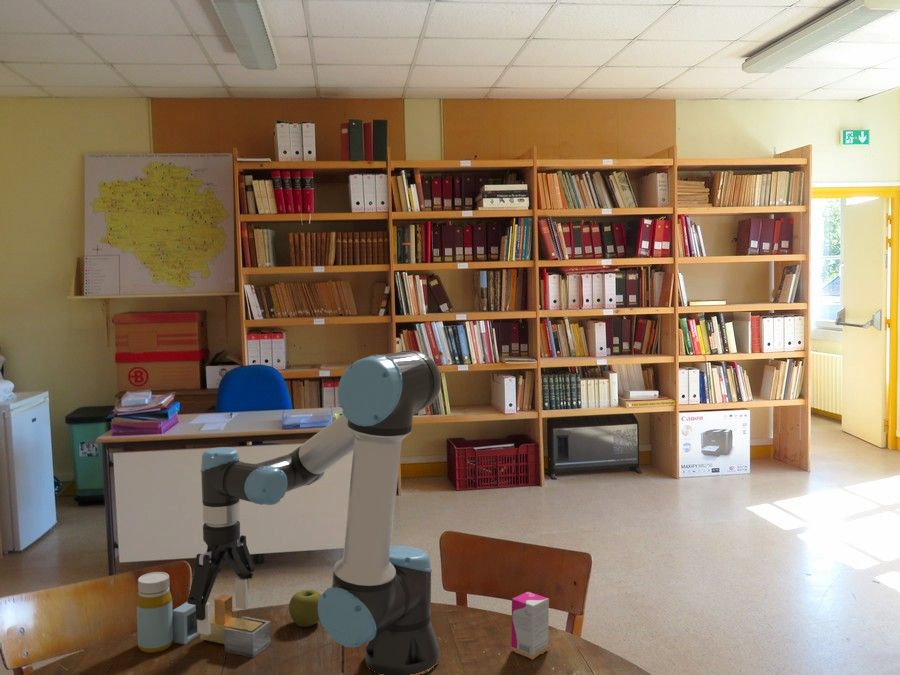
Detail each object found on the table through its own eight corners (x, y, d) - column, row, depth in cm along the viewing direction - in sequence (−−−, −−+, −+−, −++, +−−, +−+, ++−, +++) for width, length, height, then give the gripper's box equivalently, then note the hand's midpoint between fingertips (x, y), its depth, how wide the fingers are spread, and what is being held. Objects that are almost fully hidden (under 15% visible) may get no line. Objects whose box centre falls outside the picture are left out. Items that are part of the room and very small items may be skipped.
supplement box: (549, 650, 165) (550, 597, 164) (532, 661, 161) (532, 606, 160) (527, 641, 169) (527, 590, 168) (509, 651, 164) (510, 598, 163)
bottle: (161, 655, 162) (159, 585, 161) (131, 652, 164) (128, 582, 163) (179, 640, 169) (177, 572, 168) (150, 637, 171) (148, 570, 169)
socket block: (205, 630, 174) (205, 599, 173) (184, 644, 167) (183, 612, 167) (194, 628, 175) (193, 597, 174) (173, 641, 168) (172, 610, 168)
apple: (322, 631, 173) (321, 600, 173) (285, 631, 173) (285, 600, 173) (327, 616, 181) (327, 586, 180) (293, 616, 181) (292, 586, 180)
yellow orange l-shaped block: (263, 641, 167) (262, 600, 166) (252, 649, 163) (251, 607, 162) (212, 631, 171) (211, 591, 170) (200, 639, 168) (199, 598, 167)
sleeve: (270, 644, 168) (270, 621, 167) (253, 657, 162) (252, 634, 161) (243, 638, 170) (242, 616, 170) (224, 651, 164) (224, 628, 164)
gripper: (241, 503, 178) (243, 595, 180) (166, 538, 155) (170, 642, 157) (269, 507, 176) (271, 600, 178) (198, 542, 153) (200, 649, 155)
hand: (223, 620), depth 167 cm, fingers open, 12 cm apart
